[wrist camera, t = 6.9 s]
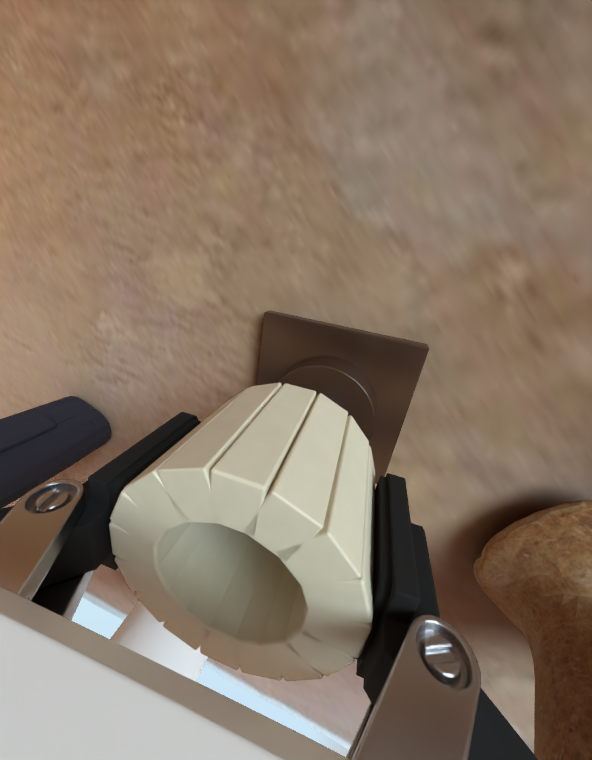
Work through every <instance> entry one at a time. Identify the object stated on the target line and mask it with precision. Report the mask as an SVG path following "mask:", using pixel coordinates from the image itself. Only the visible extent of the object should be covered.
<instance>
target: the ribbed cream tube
mask: <svg viewBox="0 0 592 760" xmlns="http://www.w3.org/2000/svg"><path fill="white" fill-rule="evenodd" d="M347 416H348V412H347V411H346V410H344V409H343V408H342V407H340V406H339V405H337V404H336V403H334V402H333V401H332V400H330V399H329V398H327V397H326V396H324V395H323V394H322V393H320V394H319V395H318V396H317V397H316V391H314V390H310V389H306V388H302V387H298V386H294V385H290V384H284V385H283V386H282V384H281V383H273V384H265V385H257V386H252V387H250V388H246V389H245V390H243V391H242V392H240V393H239V394H237V395H236V396H234V397H232V398H231V399H229V400H228V401H226V402H225V403H224V404H223V405H222V406H220V407H219V408H218V409H217V410H216V411H214V412H213V413H212V414H211V415H210V416H208V417H207V418H206V419H205V420H204V421H203V422H201V423H200V424H199V425H198V426H197V427H195V428H194V429H193V430H192V431H191V432H189V433H188V434H187V435H186V436H185V437H183V438H182V439H181V440H180V441H179V442H178V443H176V444H175V445H174V446H173V447H172V448H170V449H169V450H168V451H167V452H166V453H164V454H163V455H162V456H161V457H160V458H158V459H157V460H156V461H155V462H154V463H153V464H151V465H150V466H149V467H148V468H147V469H145V470H144V471H143V472H142V473H141V474H139V475H138V476H137V477H136V478H135V479H133V480H132V481H131V482H130V483H129V484H127V485H126V486H125V487H124V490H122V491H121V493H120V495H119V498H118V500H117V502H116V505H115V507H114V509H113V512H112V514H111V516H110V520H111V522H110V523H109V530H110V538H111V546H112V553H113V554H114V555H115V556H116V557H115V562H116V564H117V565H118V567H119V569H120V571H121V573H122V575H123V577H124V579H125V581H126V583H127V585H128V586H129V588H130V590H134V591H135V593H134V595H135V596H136V597H137V599H138V600H139V601H140V602H141V603H142V604H143V605H144V606H145V607H146V609H147V610H148V611H149V612H150V613H151V614H152V615H153V616H154V617H155V619H156V620H157V621H158V622H164V621H165V622H164V624H163V627H164V628H165V629H167V630H168V631H169V632H171V633H172V634H174V635H175V636H176V637H178V638H179V639H180V640H182V641H183V642H184V643H186V644H187V645H189V646H190V647H191V648H193V649H194V650H197V649H198V648H199V647H200V653H201V654H203V655H205V656H207V657H209V658H212V659H214V660H216V661H218V662H220V663H222V664H224V665H226V666H229V667H231V668H233V669H235V670H238V668H239V667H240V668H241V671H242V672H243V673H248V674H252V675H257V676H261V677H266V678H270V679H275V680H279V681H280V680H281V679H282V677H283V678H284V680H286V681H297V680H311V679H321V678H322V677H323V675H325V676H329V675H331V674H333V673H335V672H337V671H338V670H340V669H342V668H344V667H345V666H347V665H349V664H351V663H353V661H354V659H355V658H359V656H360V654H361V651H362V649H363V647H364V645H365V642H366V640H367V638H368V636H369V633H370V631H371V629H372V619H373V569H374V512H375V468H374V462H373V456H372V450H371V447H370V446H369V441H368V439H367V438H366V436H365V435H364V433H363V432H362V430H361V429H360V427H359V426H358V424H357V423H356V421H355V420H354V418H353V417H352V416H351V415H350V416H348V417H347Z"/></svg>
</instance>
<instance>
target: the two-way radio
mask: <svg viewBox="0 0 592 760" xmlns="http://www.w3.org/2000/svg"><path fill="white" fill-rule="evenodd" d="M110 434H111V430H110V427H109V423H108V422H107V420H106V419H105V418H104V417H103V416H102V415H101V414H100V413H99V412H98V411H97V410H95V409H94V408H93V407H91V406H90V405H89V404H87V403H86V402H84V401H83V400H81V399H79V398H77V397H74V396H70V397H65V398H63V399H60V400H57V401H53V402H50V403H48V404H45V405H42V406H39V407H36V408H33V409H30V410H27V411H24V412H21V413H18V414H15V415H12V416H9V417H6V418H3V419H0V509H1V508H3V507H4V506H6V505H8V504H10V503H11V502H13V501H15V500H17V499H18V498H20V497H22V496H23V495H25V494H26V493H27V492H28V491H30V490H31V489H33V488H35V487H36V486H38V485H40V484H42V483H43V482H45V481H47V480H48V479H50V478H51V477H53V476H55V475H56V474H58V473H60V472H61V471H63V470H65V469H66V468H68V467H70V466H71V465H73V464H74V463H76V462H78V461H79V460H80V459H82V458H83V457H85V456H86V455H88V454H89V453H91V452H92V451H94V450H95V449H97V448H99V447H100V446H102V445H104V444H105V443H106V442H107V441H108V440H109V438H110Z"/></svg>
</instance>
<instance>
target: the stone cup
mask: <svg viewBox="0 0 592 760" xmlns="http://www.w3.org/2000/svg"><path fill="white" fill-rule="evenodd" d="M473 569H474V575H475V577H476V579H477V582H478V584H479V585H480V587H481V588H482V589H483V590H484V592H485V593H486V594H487V595H488V596H489V597H490V599H491V600H492V601H493V602H494V603H495V604H496V605H497V606H498V607H499V608H500V609H501V611H502V612H503V613H504V614H505V615H506V616H507V618H508V619H509V620H510V621H511V622H512V623H513V624H514V625H515V626H516V627H517V628H518V629H519V630H520V631H521V632H522V633H523V634H525V636H526V638H527V641H528V643H529V646H530V649H531V652H532V657H533V662H534V673H535V739H534V755H535V756H536V758H537V759H538V760H592V500H587V501H576V502H568V503H564V504H561V505H557V506H554V507H551V508H547V509H544V510H541V511H538V512H535V513H533V514H531V515H530V516H528V517H525V518H523V519H520V520H518V521H515V522H514V523H512V524H511V525H509V526H507V527H506V528H504V529H503V530H501V531H500V532H498V533H497V534H495V535H494V536H493V537H492V538H491V539H490V540H489V541H488V543H487V544H486V546H485V547H484V548H483V551H482V554H481V557H479V558H478V559H476V561H475V563H474V566H473Z"/></svg>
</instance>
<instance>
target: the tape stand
mask: <svg viewBox="0 0 592 760" xmlns="http://www.w3.org/2000/svg"><path fill="white" fill-rule="evenodd" d="M428 351H429V347H428V345H427V344H423V343H419V342H414V341H409V340H405V339H400V338H395V337H391V336H386V335H381V334H377V333H372V332H367V331H363V330H358V329H353V328H349V327H344V326H339V325H335V324H330V323H325V322H321V321H316V320H312V319H307V318H302V317H298V316H293V315H288V314H284V313H279V312H274V311H267V312H265V314H264V323H263V331H262V340H261V348H260V357H259V365H258V374H257V382H256V386H257V385H265V384H273V383H281V384H282V386H283V385H284V384H290V385H294V386H298V387H302V388H306V389H310V390H314V391H316V397H317V396H318V395H319V394H320V393H322V394H323V395H324V396H326V397H327V398H329V399H330V400H332V401H333V402H334V403H336V404H337V405H339V406H340V407H342V408H343V409H344V410H346V411H347V412H348V416H350V415H351V416H352V417H353V418H354V420H355V421H356V423H357V424H358V426H359V427H360V429H361V430H362V432H363V433H364V435H365V436H366V438H367V439H368V441H369V446H370V447H371V450H372V456H373V462H374V468H375V483H376V484H378V481H379V478H380V476H385V473H386V471H387V468H388V465H389V462H390V459H391V456H392V453H393V451H394V448H395V445H396V442H397V439H398V436H399V433H400V431H401V428H402V425H403V422H404V419H405V416H406V413H407V411H408V408H409V405H410V402H411V399H412V396H413V393H414V391H415V388H416V385H417V382H418V379H419V376H420V373H421V371H422V368H423V365H424V362H425V359H426V356H427V353H428ZM348 416H347V417H348Z"/></svg>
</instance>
